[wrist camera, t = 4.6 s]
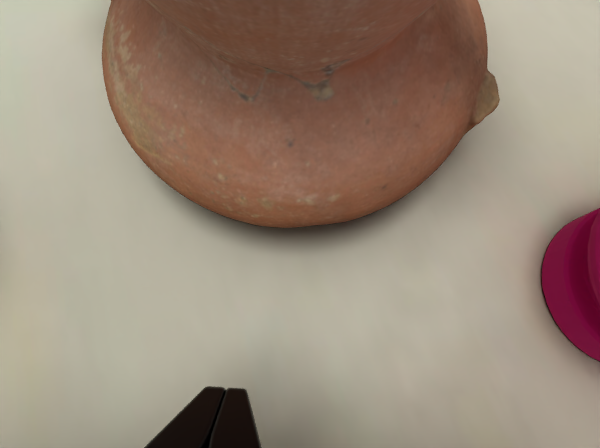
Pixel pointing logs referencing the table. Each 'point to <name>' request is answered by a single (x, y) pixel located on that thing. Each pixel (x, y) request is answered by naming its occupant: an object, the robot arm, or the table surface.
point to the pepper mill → (575, 281)
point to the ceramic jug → (296, 99)
